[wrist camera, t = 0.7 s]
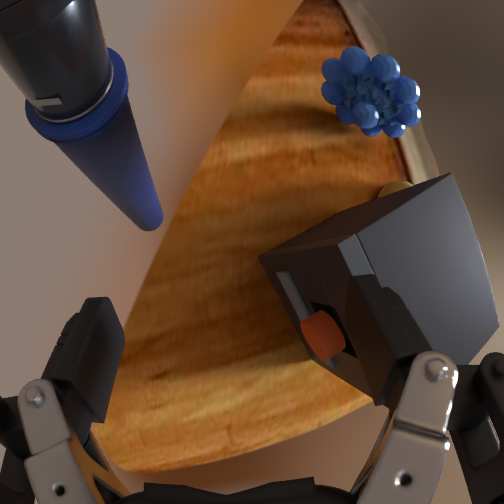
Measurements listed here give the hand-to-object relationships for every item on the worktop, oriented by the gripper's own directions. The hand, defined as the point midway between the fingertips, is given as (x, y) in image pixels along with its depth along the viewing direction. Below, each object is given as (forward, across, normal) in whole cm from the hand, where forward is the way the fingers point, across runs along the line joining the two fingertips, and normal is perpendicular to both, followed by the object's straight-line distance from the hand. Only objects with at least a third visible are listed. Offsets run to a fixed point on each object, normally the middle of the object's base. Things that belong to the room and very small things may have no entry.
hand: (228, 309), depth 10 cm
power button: (+8, -5, +10) cm, 14 cm away
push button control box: (+17, -9, +13) cm, 23 cm away
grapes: (+28, -13, -1) cm, 30 cm away
